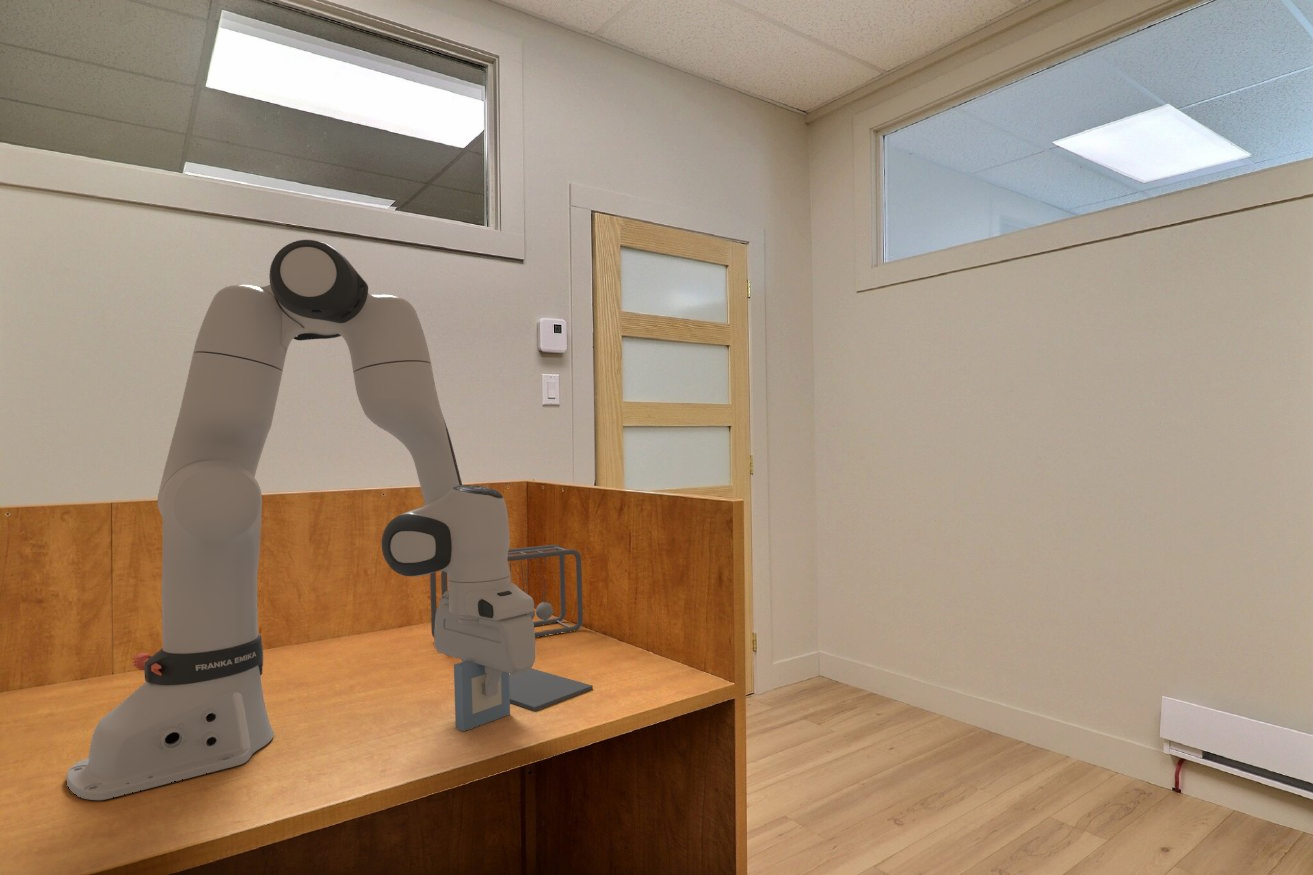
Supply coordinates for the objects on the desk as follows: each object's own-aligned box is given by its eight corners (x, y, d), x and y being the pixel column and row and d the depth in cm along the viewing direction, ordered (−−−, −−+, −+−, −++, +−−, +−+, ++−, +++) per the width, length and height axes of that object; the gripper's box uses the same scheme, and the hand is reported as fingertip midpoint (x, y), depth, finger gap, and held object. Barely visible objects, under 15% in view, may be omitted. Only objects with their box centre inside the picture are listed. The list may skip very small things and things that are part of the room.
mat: (534, 711, 107) (534, 707, 107) (472, 689, 117) (472, 686, 117) (592, 689, 116) (592, 685, 116) (530, 671, 126) (529, 667, 126)
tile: (510, 714, 106) (508, 653, 106) (464, 731, 100) (462, 667, 100) (501, 711, 107) (500, 651, 107) (455, 728, 101) (453, 664, 101)
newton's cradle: (564, 621, 163) (562, 543, 163) (584, 630, 154) (581, 548, 154) (431, 642, 148) (429, 557, 148) (443, 654, 139) (441, 563, 139)
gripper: (422, 592, 108) (424, 684, 108) (504, 609, 95) (507, 714, 94) (458, 586, 113) (460, 673, 113) (541, 601, 99) (544, 700, 99)
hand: (482, 692), depth 103 cm, fingers closed on tile, 2 cm apart
